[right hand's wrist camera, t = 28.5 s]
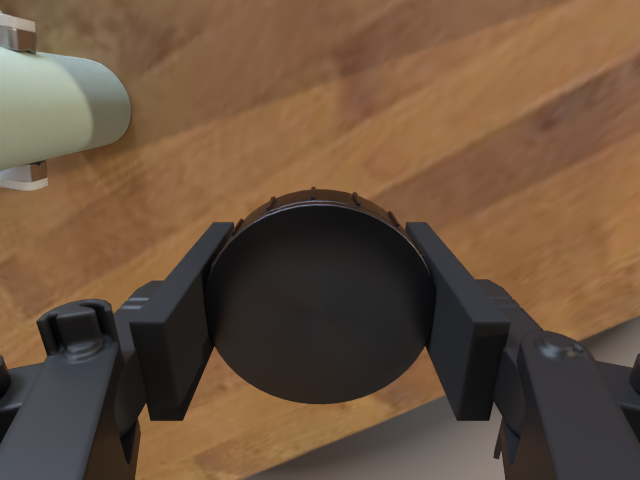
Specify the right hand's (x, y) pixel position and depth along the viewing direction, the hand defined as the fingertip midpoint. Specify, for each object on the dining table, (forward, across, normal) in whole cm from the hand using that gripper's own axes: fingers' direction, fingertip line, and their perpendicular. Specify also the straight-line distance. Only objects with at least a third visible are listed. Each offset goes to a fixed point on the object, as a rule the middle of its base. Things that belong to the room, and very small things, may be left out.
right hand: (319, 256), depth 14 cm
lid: (-4, 0, 0) cm, 4 cm away
